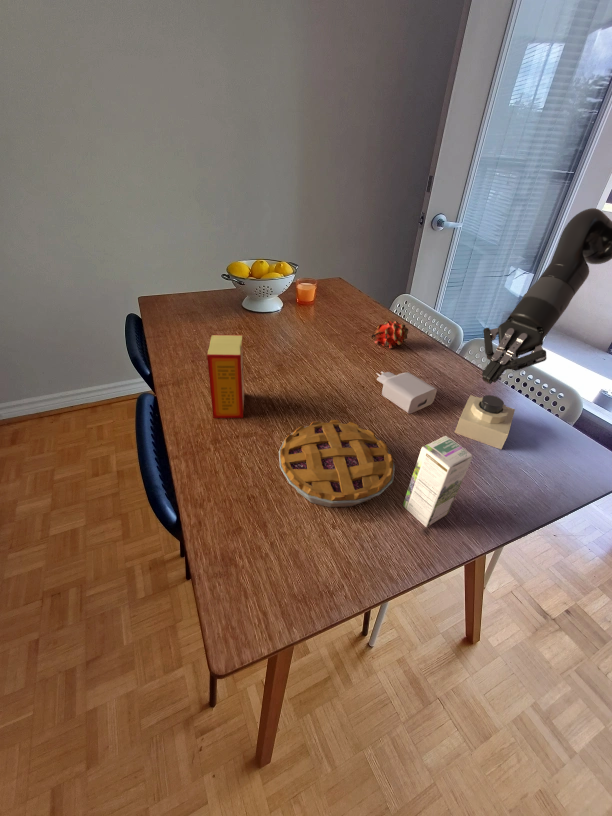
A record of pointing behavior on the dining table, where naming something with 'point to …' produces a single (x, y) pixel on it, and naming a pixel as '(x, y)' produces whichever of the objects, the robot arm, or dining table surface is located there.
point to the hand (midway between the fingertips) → (486, 380)
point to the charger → (406, 391)
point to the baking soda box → (226, 375)
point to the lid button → (491, 404)
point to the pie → (336, 463)
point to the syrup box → (436, 480)
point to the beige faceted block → (485, 423)
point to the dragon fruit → (390, 334)
